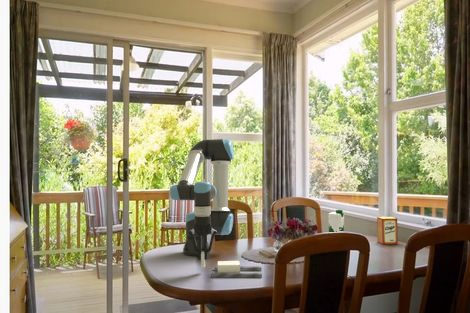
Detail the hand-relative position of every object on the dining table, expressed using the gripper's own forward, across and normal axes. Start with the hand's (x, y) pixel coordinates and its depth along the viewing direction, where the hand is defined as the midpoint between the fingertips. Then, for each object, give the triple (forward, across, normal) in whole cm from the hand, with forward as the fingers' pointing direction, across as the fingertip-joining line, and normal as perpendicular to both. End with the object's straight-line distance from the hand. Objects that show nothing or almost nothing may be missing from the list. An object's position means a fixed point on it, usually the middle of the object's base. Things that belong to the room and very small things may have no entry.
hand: (203, 266), depth 165 cm
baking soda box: (+3, +106, +63) cm, 123 cm away
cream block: (+3, +12, 0) cm, 12 cm away
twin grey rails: (+3, +16, 0) cm, 16 cm away
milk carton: (+3, +76, +68) cm, 102 cm away
